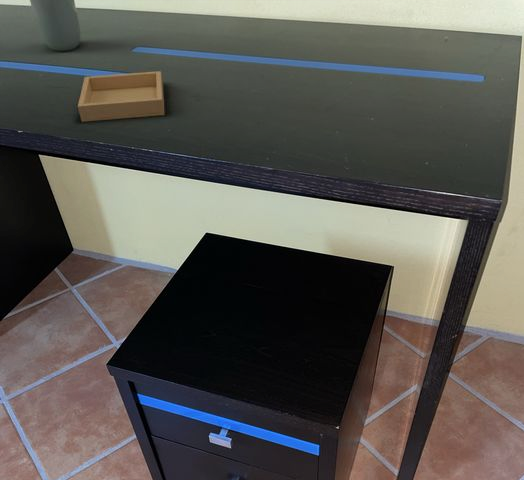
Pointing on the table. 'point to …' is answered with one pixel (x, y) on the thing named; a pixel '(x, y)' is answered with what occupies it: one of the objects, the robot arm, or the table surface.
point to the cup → (57, 23)
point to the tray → (121, 96)
